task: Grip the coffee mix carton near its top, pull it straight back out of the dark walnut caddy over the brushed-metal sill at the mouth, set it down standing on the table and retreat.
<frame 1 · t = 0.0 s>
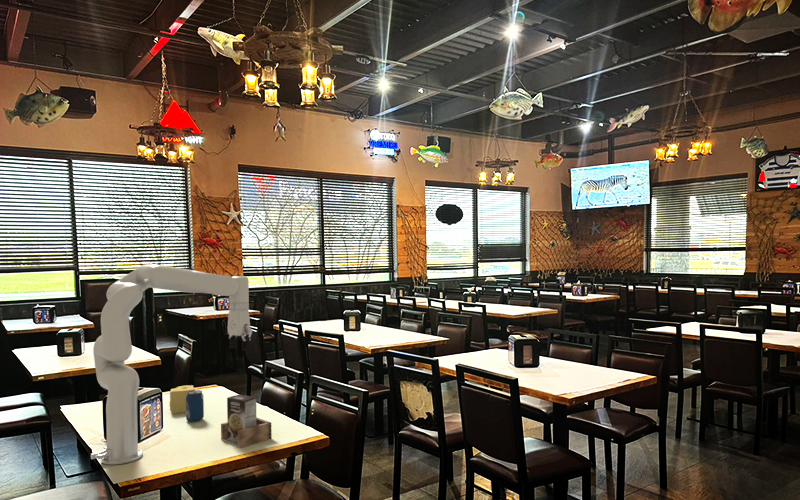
hand: (239, 349, 220), 31 cm above the table, fingers open, 9 cm apart
soda can: (195, 421, 229), on the table
coffee box: (242, 440, 203), resting in walnut caddy
cheese: (182, 410, 246), on the table
walnut caddy: (246, 439, 204), on the table
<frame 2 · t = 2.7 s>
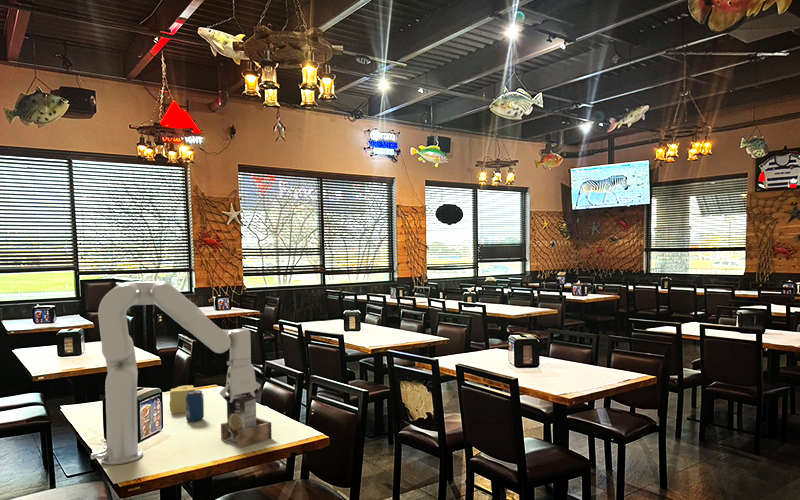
hand: (241, 409, 203), 11 cm above the table, fingers closed on coffee box, 7 cm apart
coffee box: (242, 440, 203), resting in walnut caddy, touching gripper
everything else where it was.
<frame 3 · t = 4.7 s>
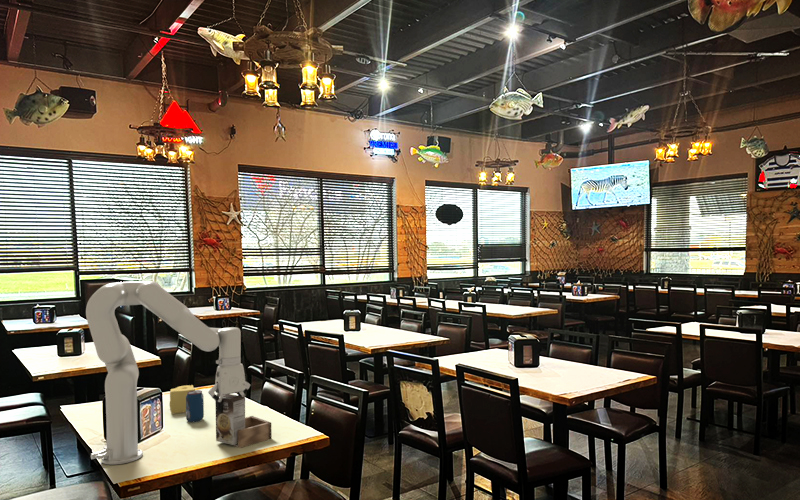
hand: (229, 409, 200), 12 cm above the table, fingers closed on coffee box, 7 cm apart
coffee box: (230, 441, 200), point 1 cm above the table, touching gripper
everything else where it was.
when the fingers open (12 cm above the table, at t = 6.6 s): coffee box stays where it is, on the table.
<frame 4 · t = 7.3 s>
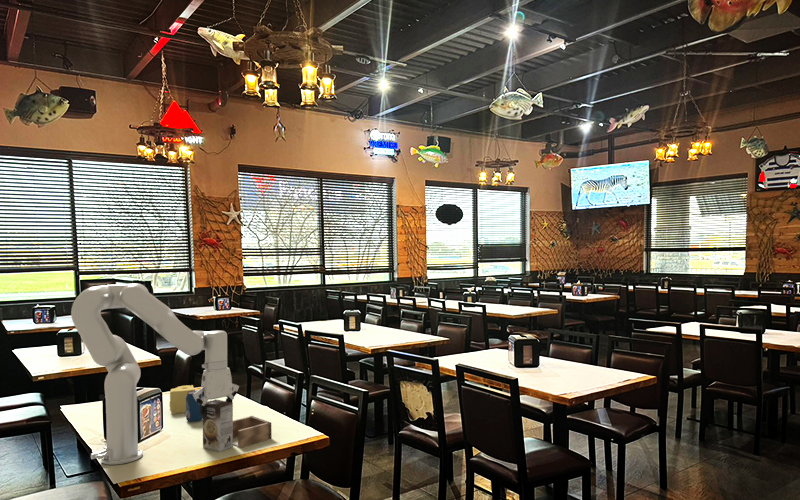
hand: (216, 413, 196), 12 cm above the table, fingers open, 9 cm apart
coffee box: (218, 447, 196), on the table
everything else where it was.
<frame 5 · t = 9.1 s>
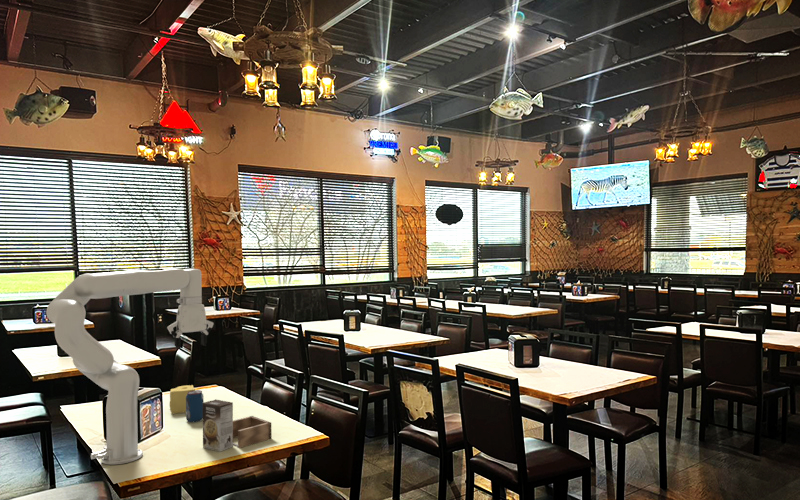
hand: (191, 346, 206), 35 cm above the table, fingers open, 9 cm apart
nothing on the table moved.
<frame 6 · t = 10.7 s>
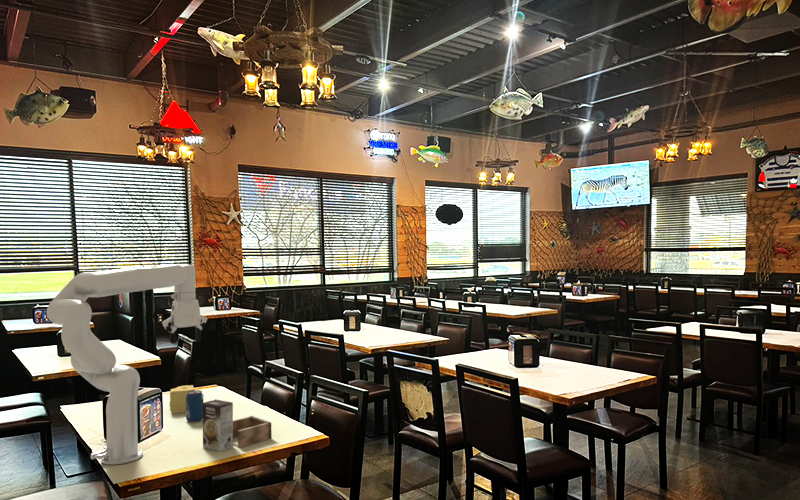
hand: (185, 341, 209), 36 cm above the table, fingers open, 9 cm apart
nothing on the table moved.
at the end: coffee box inside the target area (1.0 cm from its centre), on the table; coffee box tilted 0°; the gripper is holding nothing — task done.
